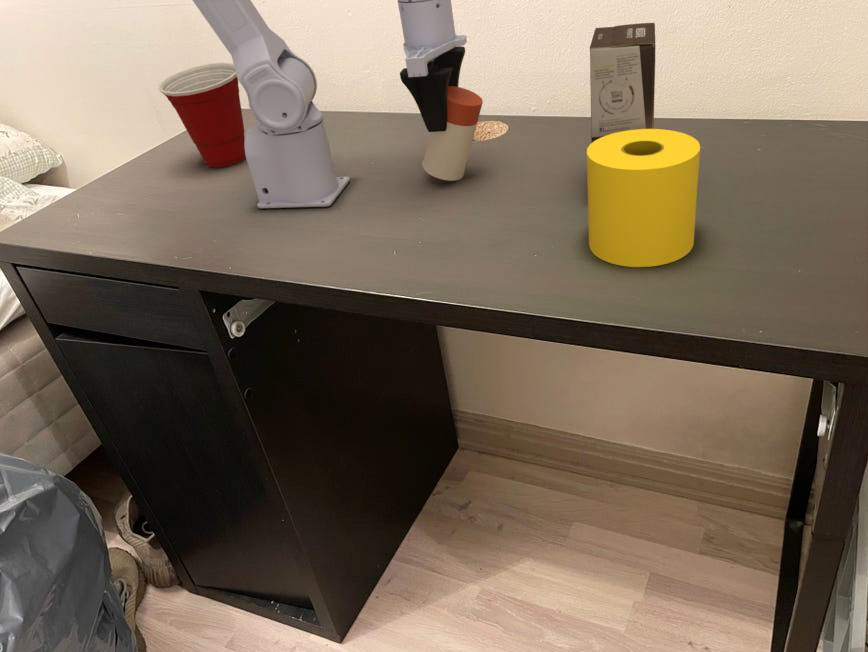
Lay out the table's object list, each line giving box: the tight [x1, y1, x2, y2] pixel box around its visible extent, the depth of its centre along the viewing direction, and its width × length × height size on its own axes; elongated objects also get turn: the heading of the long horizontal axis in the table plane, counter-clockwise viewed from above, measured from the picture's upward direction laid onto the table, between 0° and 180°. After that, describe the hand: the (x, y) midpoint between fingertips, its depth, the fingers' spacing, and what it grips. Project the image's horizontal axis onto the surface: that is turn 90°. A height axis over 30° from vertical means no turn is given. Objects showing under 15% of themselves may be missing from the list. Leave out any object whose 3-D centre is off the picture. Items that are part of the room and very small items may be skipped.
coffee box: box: [589, 22, 656, 144], centre depth 79 cm, size 9×6×16 cm
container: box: [421, 86, 484, 182], centre depth 88 cm, size 5×5×10 cm
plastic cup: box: [157, 62, 246, 168], centre depth 102 cm, size 11×11×12 cm
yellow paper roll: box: [586, 128, 701, 268], centre depth 69 cm, size 10×10×9 cm
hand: (442, 122), depth 87 cm, fingers closed on container, 5 cm apart
